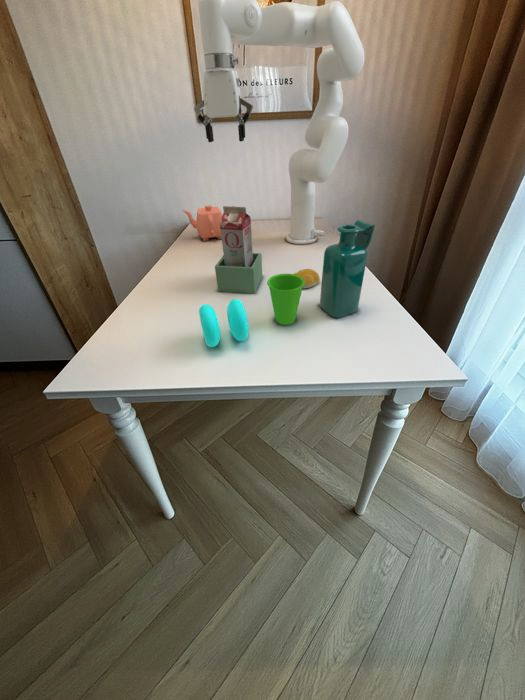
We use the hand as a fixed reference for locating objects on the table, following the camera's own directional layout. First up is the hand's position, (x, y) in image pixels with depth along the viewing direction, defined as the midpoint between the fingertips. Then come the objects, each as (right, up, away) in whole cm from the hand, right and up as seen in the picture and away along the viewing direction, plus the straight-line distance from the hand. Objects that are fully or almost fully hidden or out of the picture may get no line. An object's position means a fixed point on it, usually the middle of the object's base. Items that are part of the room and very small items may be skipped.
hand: (226, 141), depth 94 cm
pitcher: (+32, -52, -9) cm, 62 cm away
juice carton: (+4, -41, +5) cm, 42 cm away
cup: (+17, -55, -12) cm, 59 cm away
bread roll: (+24, -42, +4) cm, 49 cm away
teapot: (-11, -13, +43) cm, 46 cm away
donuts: (+2, -61, -18) cm, 64 cm away
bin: (+4, -42, +5) cm, 43 cm away
